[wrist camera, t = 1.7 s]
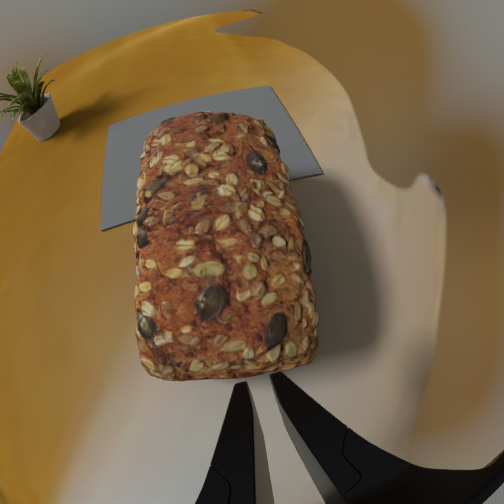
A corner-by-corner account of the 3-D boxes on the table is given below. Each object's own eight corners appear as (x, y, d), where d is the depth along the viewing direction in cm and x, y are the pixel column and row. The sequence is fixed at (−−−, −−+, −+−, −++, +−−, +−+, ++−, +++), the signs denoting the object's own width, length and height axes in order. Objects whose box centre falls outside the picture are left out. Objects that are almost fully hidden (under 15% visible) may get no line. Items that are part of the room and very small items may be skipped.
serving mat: (321, 175, 28) (322, 172, 27) (102, 232, 25) (101, 230, 25) (269, 87, 35) (269, 85, 34) (110, 127, 32) (109, 125, 32)
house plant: (8, 157, 32) (-33, 102, 17) (52, 106, 37) (22, 50, 22) (35, 168, 30) (-17, 97, 15) (88, 108, 35) (55, 35, 20)
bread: (168, 184, 27) (139, 112, 18) (270, 171, 27) (276, 93, 18) (174, 376, 20) (117, 384, 11) (305, 362, 20) (345, 363, 11)
